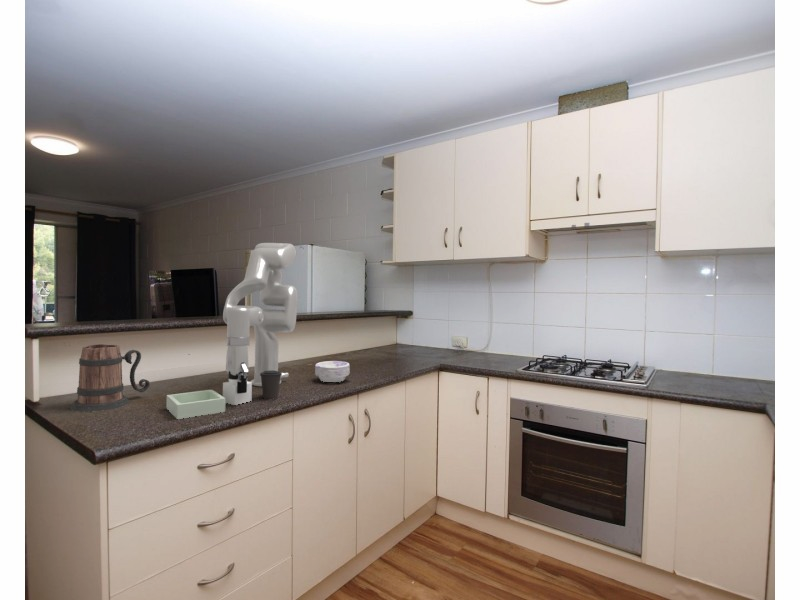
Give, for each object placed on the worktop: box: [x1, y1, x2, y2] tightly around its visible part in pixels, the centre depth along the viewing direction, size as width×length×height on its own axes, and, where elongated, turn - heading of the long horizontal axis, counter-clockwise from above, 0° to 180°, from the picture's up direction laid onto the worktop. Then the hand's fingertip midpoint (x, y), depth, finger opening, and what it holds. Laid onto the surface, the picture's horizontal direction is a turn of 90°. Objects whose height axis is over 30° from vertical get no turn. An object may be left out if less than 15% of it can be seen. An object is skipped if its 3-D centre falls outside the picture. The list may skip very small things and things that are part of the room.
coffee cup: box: [260, 370, 283, 400], centre depth 160 cm, size 8×8×10 cm
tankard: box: [69, 343, 150, 413], centre depth 147 cm, size 24×17×20 cm
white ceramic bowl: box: [314, 360, 351, 383], centre depth 191 cm, size 15×15×8 cm
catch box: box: [166, 389, 226, 420], centre depth 142 cm, size 14×14×4 cm
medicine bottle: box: [222, 371, 253, 406], centre depth 153 cm, size 7×7×12 cm
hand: (237, 390), depth 153 cm, fingers closed on medicine bottle, 8 cm apart
